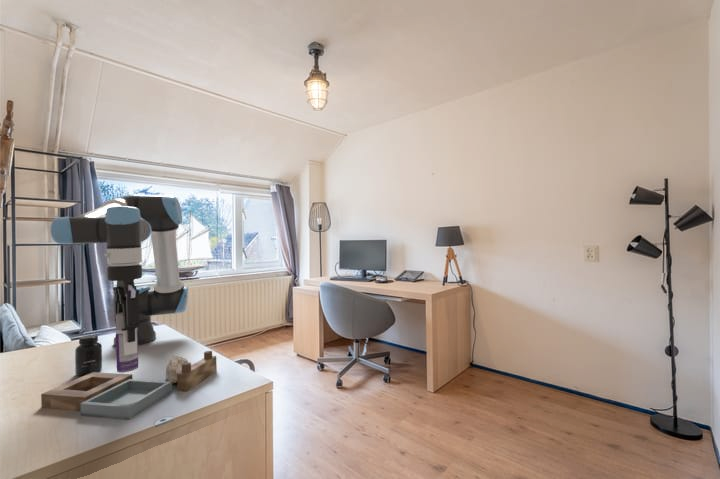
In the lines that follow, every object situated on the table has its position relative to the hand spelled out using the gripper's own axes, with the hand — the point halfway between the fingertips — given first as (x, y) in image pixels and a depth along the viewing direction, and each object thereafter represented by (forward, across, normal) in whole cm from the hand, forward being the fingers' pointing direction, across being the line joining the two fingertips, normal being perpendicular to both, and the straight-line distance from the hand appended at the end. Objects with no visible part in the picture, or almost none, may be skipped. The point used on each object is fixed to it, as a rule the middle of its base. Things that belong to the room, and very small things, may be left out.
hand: (127, 351), depth 87 cm
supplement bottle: (+14, -36, -2) cm, 39 cm away
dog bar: (+14, +1, +18) cm, 23 cm away
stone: (+14, -5, +15) cm, 21 cm away
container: (+5, 0, 0) cm, 5 cm away
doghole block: (+14, -14, -6) cm, 21 cm away
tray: (+14, 0, 0) cm, 14 cm away
